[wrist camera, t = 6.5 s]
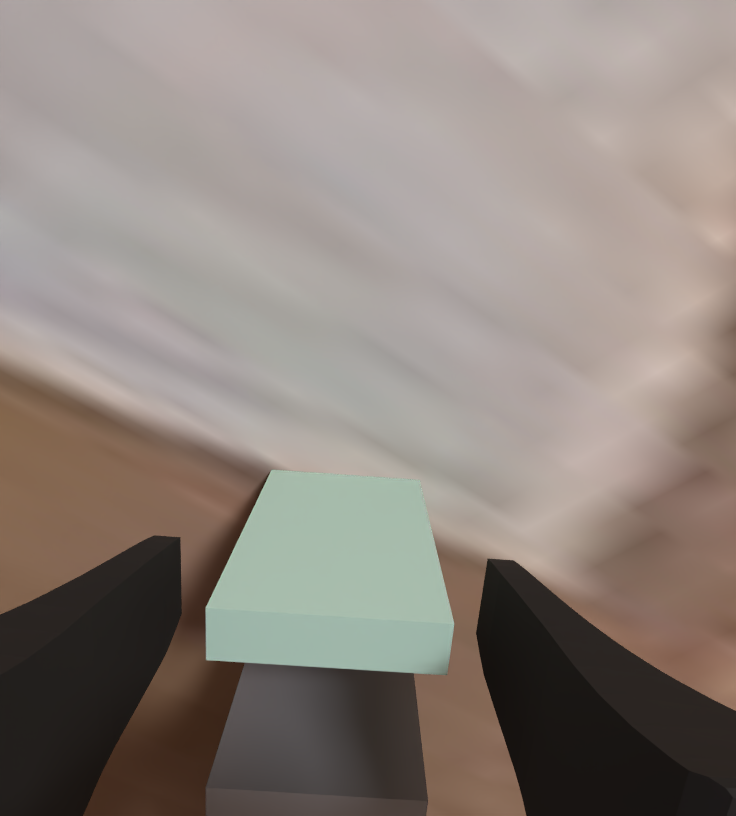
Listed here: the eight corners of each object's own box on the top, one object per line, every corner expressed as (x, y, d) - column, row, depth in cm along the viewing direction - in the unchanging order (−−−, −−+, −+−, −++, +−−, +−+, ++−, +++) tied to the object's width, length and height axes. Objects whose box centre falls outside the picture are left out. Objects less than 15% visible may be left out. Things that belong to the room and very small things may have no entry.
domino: (401, 629, 18) (421, 842, 11) (266, 620, 18) (205, 829, 11) (405, 600, 18) (428, 800, 11) (267, 591, 18) (205, 787, 11)
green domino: (271, 469, 17) (205, 608, 10) (419, 480, 17) (454, 624, 10) (270, 503, 17) (205, 660, 10) (416, 513, 17) (447, 675, 10)
